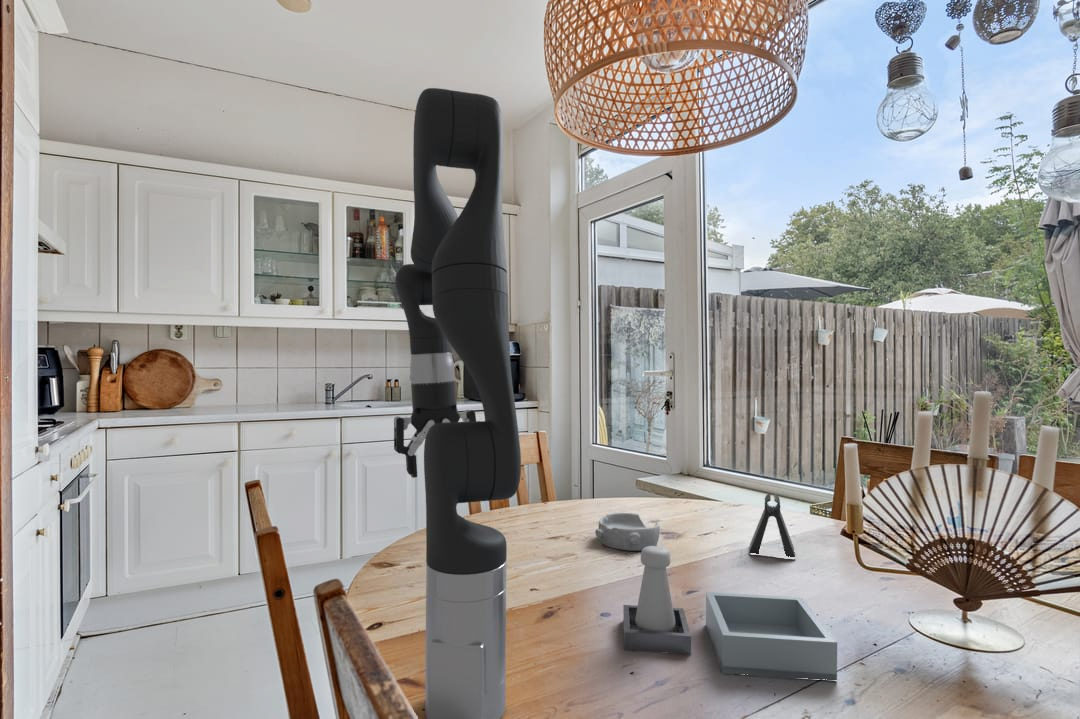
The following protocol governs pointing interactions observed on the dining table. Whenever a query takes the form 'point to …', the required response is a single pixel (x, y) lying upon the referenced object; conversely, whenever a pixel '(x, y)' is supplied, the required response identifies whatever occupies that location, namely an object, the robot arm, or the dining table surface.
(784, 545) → the black a-shaped piece
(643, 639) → the dark grey square tray
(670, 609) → the salt shaker
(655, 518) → the dining table surface
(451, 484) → the robot arm
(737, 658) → the bin
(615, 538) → the dish
